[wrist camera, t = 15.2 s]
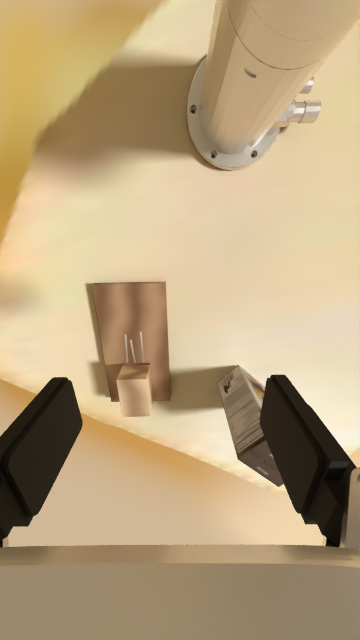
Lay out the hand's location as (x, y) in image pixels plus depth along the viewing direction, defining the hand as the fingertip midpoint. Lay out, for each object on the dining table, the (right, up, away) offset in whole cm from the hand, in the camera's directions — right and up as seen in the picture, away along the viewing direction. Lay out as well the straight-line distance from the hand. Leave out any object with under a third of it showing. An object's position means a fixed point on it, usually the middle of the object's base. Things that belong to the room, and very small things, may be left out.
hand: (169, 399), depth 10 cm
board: (-8, -1, +29) cm, 30 cm away
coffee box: (+13, -10, +33) cm, 37 cm away
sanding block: (-8, -8, +30) cm, 32 cm away
